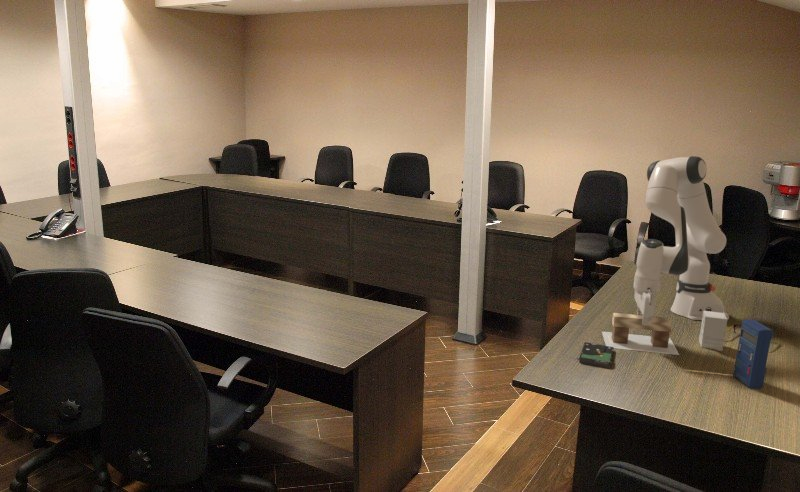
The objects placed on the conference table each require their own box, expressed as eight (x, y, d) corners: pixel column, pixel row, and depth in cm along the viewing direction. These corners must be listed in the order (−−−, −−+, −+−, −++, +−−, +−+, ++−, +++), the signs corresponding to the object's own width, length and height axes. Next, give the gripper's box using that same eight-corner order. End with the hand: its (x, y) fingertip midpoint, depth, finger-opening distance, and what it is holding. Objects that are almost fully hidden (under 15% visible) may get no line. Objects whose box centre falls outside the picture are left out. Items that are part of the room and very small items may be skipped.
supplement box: (719, 344, 237) (724, 312, 234) (722, 352, 230) (727, 319, 227) (698, 341, 239) (703, 309, 236) (700, 348, 232) (705, 316, 229)
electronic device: (731, 375, 210) (741, 319, 206) (745, 375, 211) (756, 319, 206) (748, 388, 201) (759, 330, 196) (764, 388, 202) (775, 330, 197)
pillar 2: (664, 342, 235) (666, 327, 233) (667, 348, 230) (669, 332, 229) (650, 341, 236) (652, 326, 234) (653, 346, 231) (655, 331, 230)
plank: (668, 328, 233) (669, 318, 232) (670, 332, 229) (672, 321, 228) (611, 322, 237) (613, 312, 236) (613, 326, 233) (614, 316, 232)
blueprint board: (669, 339, 240) (670, 338, 240) (679, 356, 225) (679, 354, 224) (601, 332, 244) (601, 331, 244) (606, 348, 229) (606, 347, 229)
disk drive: (583, 349, 230) (578, 364, 217) (584, 341, 230) (579, 356, 216) (613, 354, 227) (610, 369, 213) (614, 346, 226) (611, 361, 212)
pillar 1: (625, 338, 238) (627, 323, 236) (627, 343, 233) (629, 328, 231) (611, 337, 238) (613, 322, 237) (613, 342, 234) (615, 327, 232)
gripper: (661, 294, 218) (656, 331, 222) (650, 277, 238) (646, 312, 241) (642, 292, 219) (637, 329, 223) (633, 275, 239) (628, 310, 242)
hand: (642, 320), depth 232 cm, fingers open, 8 cm apart
